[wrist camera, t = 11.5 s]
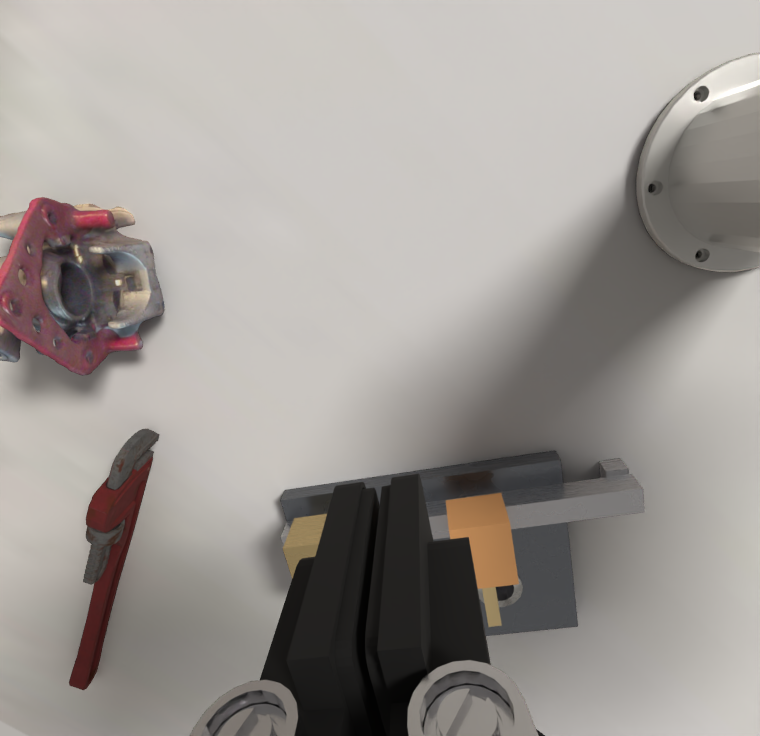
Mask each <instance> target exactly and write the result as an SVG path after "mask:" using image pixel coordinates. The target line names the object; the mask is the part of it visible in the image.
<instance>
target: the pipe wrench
mask: <svg viewBox="0 0 760 736" xmlns="http://www.w3.org/2000/svg"><path fill="white" fill-rule="evenodd" d="M158 438H159V434H157V433H155V432H154V431H151V430H149V429H142V430H140V431H138V432H137V433H135V434H134V435H133V436H132V437H131V438H130V439H129V440H128V441H127V442H126V443H125V445H124V446H123V447H122V449H121V450H120V452H119V453H118V455H117V456H116V458H115V460H114V462H113V464H112V468H111V471H110V475H109V477H108V478H107V479H106V481H105V482H104V483H103V484H102V485H101V486H100V488H99V489H98V490H97V491H96V493H95V494H94V495H93V497H92V500H91V502H90V504H89V507H88V512H87V516H86V525H87V531H86V539H87V541H88V542H90V543H91V544H92V545H91V550H90V554H89V557H88V558H89V559H88V561H87V563H88V564H87V565H86V570H85V574H84V579H83V582H85V583H88V584H93V583H94V588H93V593H92V598H91V602H90V607H89V611H88V616H87V620H86V624H85V627H84V631H83V635H82V639H81V643H80V647H79V651H78V655H77V658H76V661H75V664H74V667H73V671H72V674H71V677H70V681H69V685H70V686H73V687H76V688H79V689H82V690H85V689H86V688H87V687H88V686H89V684H90V683H91V681H92V680H93V678H94V676H95V674H96V672H97V669H98V665H99V661H100V657H101V652H102V646H103V642H104V638H105V633H106V629H107V625H108V621H109V617H110V613H111V609H112V605H113V601H114V598H115V594H116V590H117V587H118V583H119V579H120V576H121V572H122V569H123V565H124V562H125V559H126V555H127V552H128V548H129V545H130V541H131V538H132V535H133V531H134V528H135V524H136V520H137V516H138V513H139V509H140V505H141V501H142V497H143V494H144V490H145V486H146V482H147V479H148V475H149V471H150V467H151V464H152V460H153V457H152V456H153V451H150V450H147V449H149V448H150V447H151V446H152V445H153V444H154V443H155V442H156V441H158Z"/></svg>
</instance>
